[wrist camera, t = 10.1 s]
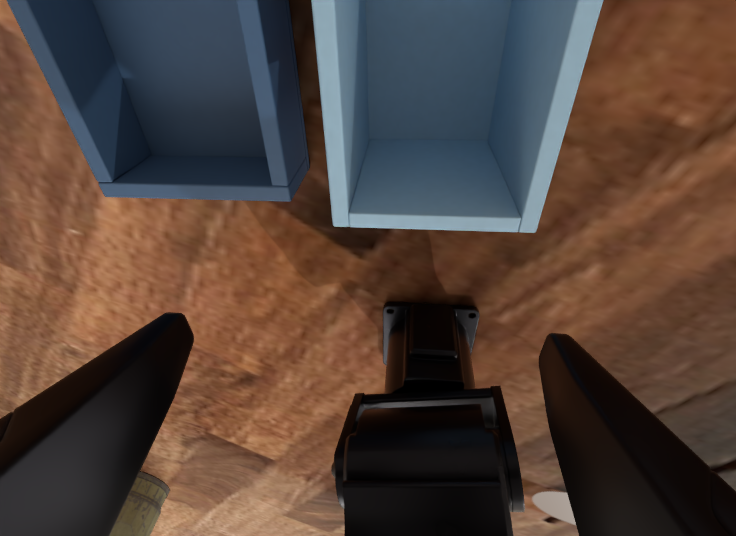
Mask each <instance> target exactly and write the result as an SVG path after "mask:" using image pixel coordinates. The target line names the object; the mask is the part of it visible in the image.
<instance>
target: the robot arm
mask: <svg viewBox="0 0 736 536" xmlns="http://www.w3.org/2000/svg"><path fill="white" fill-rule="evenodd" d="M389 309H393V310H389ZM470 313H473V314H470ZM478 320H479V310H478V308H477V307H474V306H461V305H441V304H421V303H400V302H388V303H386V304H385V305H384V308H383V362H384V364H385V365H387V367H386V380H385V394H366V395H365V394H364V393H357V394H355V396H354V399H353V402H352V405H351V406H350V409H349V412H348V415H347V418H346V421H345V424H344V427H343V430H342V433H341V436H340V439H339V442H338V445H337V448H336V451H335V454H334V462H333V464H332V475H333V476H334V477H335V481H336V491H337V496H338V500H339V503H340V505H341V507H342V508H343V509H344V515H345V536H513V530H512V523H511V516H510V512H524V510H525V506H524V495H523V487H522V480H521V473H520V468H519V462H518V457H517V452H516V447H515V442H514V438H513V434H512V430H511V426H510V422H509V419H508V415H507V411H506V407H505V403H504V399H503V395H502V391H501V388H500V386H490V388H480V389H475V382H474V375H473V368H472V361H471V352H472V348H473V343H474V339H475V334H476V329H477V325H478ZM193 342H194V336H193V332H192V330H191V328H190V326H189V324H188V321H187V319H186V317H185V315H183V314H182V313H171V312H168V313H165V314H163V315H161V316H160V317H158V318H157V319H155V320H153V321H152V322H150V323H149V324H147V325H146V326H144V327H143V328H141V329H139V330H138V331H136V332H135V333H133V334H132V335H130V336H129V337H127V338H125V339H124V340H122V341H121V342H119V343H118V344H116V345H115V346H113V347H111V348H110V349H108V350H107V351H105V352H104V353H102V354H101V355H99V356H97V357H96V358H94V359H93V360H91V361H90V362H88V363H87V364H85V365H83V366H82V367H80V368H79V369H77V370H76V371H74V372H72V373H71V374H69V375H68V376H66V377H65V378H63V379H62V380H60V381H58V382H57V383H55V384H54V385H52V386H51V387H49V388H48V389H46V390H44V391H43V392H41V393H40V394H38V395H37V396H35V397H34V398H32V399H30V400H29V401H27V402H26V403H24V404H23V405H21V406H20V407H18V408H16V409H15V410H14V412H10V413H8V414H7V415H5V416H4V417H2V418H1V419H0V536H110V534H111V532H112V529H113V527H114V525H115V523H116V521H117V519H118V517H119V515H120V512H121V510H122V508H123V506H124V504H125V502H126V500H127V497H128V495H129V493H130V491H131V489H132V487H133V485H134V483H135V480H136V478H137V476H138V474H139V472H140V470H141V468H142V466H143V463H144V461H145V459H146V457H147V455H148V453H149V451H150V449H151V446H152V444H153V442H154V440H155V438H156V436H157V434H158V431H159V429H160V427H161V425H162V423H163V421H164V419H165V417H166V414H167V412H168V410H169V408H170V406H171V404H172V401H173V399H174V397H175V394H176V392H177V389H178V386H179V383H180V380H181V377H182V375H183V372H184V369H185V366H186V363H187V360H188V357H189V354H190V351H191V349H192V346H193ZM539 369H540V375H541V381H542V387H543V394H544V400H545V406H546V413H547V418H548V424H549V428H550V432H551V436H552V440H553V444H554V447H555V451H556V454H557V458H558V461H559V465H560V468H561V472H562V476H563V479H564V483H565V486H566V490H567V493H568V497H569V500H570V504H571V507H572V511H573V514H574V518H575V522H576V525H577V529H578V533H579V536H736V491H735V490H734V489H733V488H732V487H730V486H729V485H728V484H727V483H726V482H725V481H724V480H723V479H722V478H721V477H720V476H719V475H718V474H717V473H715V472H714V471H711V469H710V467H709V466H708V465H707V464H706V463H705V462H704V461H703V460H702V459H700V458H699V457H698V456H697V455H696V454H695V453H694V452H693V451H692V450H691V449H690V448H689V447H688V446H687V445H686V444H684V443H683V442H682V441H681V440H680V439H679V438H678V437H677V436H676V435H675V434H674V433H673V432H672V431H671V430H670V429H669V428H667V427H666V426H665V425H664V424H663V423H662V422H661V421H660V420H659V419H658V418H657V417H656V416H655V415H654V414H653V413H651V412H650V411H649V410H648V409H647V408H646V407H645V406H644V405H643V404H642V403H641V402H640V401H639V400H638V399H637V398H635V397H634V396H633V395H632V394H631V393H630V392H629V391H628V390H627V389H626V388H625V387H624V386H623V385H622V384H621V383H620V382H618V381H617V380H616V379H615V378H614V377H613V376H612V375H611V374H610V373H609V372H608V371H607V370H606V369H605V368H604V367H602V366H601V365H600V364H599V363H598V362H597V361H596V360H595V359H594V358H593V357H592V356H591V355H590V354H589V353H588V352H587V351H585V350H584V349H583V348H582V347H581V346H580V345H579V344H578V343H577V342H576V341H575V340H574V339H573V338H572V337H570V336H569V335H567V334H557V333H551V334H549V335H548V336H547V337H546V340H545V342H544V345H543V348H542V350H541V353H540V356H539Z"/></svg>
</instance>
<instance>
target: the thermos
mask: <svg viewBox="0 0 736 536" xmlns="http://www.w3.org/2000/svg"><path fill="white" fill-rule="evenodd" d="M169 491H170V490H169V488H168V486H167V485H166V484H165V483H164V482H162V481H161V480H159V479H157V478H155V477H153V476H151V475H148V474H146V473H143V472H139V474H138V476H137V478H136V480H135V483H134V485H133V487H132V489H131V491H130V493H129V495H128V497H127V500H126V502H125V504H124V506H123V508H122V510H121V512H120V515H119V517H118V519H117V521H116V523H115V525H114V527H113V529H112V532H111V534H110V536H150V534H151V532H152V530H153V528H154V526H155V524H156V522H157V519H158V517H159V515H160V513H161V511H160V510H161V507H162V505H163V503H164V501H165V499H166V498H167V496H168V493H169Z"/></svg>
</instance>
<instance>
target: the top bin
mask: <svg viewBox="0 0 736 536" xmlns="http://www.w3.org/2000/svg"><path fill="white" fill-rule="evenodd" d="M311 2H312V12H313V22H314V33H315V43H316V54H317V64H318V75H319V85H320V96H321V106H322V116H323V127H324V137H325V148H326V158H327V169H328V179H329V190H330V200H331V210H332V221H333V226H335V227H349V225H350V227H362V228H395V229H427V230H460V231H492V232H517V231H518V232H525V233H535V232H536V230H537V227H538V223H539V220H540V216H541V213H542V209H543V206H544V202H545V199H546V196H547V192H548V189H549V185H550V182H551V178H552V175H553V171H554V168H555V165H556V161H557V158H558V154H559V151H560V147H561V144H562V141H563V137H564V134H565V130H566V127H567V123H568V120H569V116H570V113H571V110H572V106H573V103H574V99H575V96H576V92H577V89H578V85H579V82H580V79H581V75H582V72H583V68H584V65H585V61H586V58H587V55H588V51H589V48H590V44H591V41H592V37H593V34H594V30H595V27H596V24H597V20H598V17H599V13H600V10H601V6H602V3H603V0H311Z"/></svg>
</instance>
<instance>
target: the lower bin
mask: <svg viewBox="0 0 736 536" xmlns="http://www.w3.org/2000/svg"><path fill="white" fill-rule="evenodd" d="M7 2H8V4H9V6H10V8H11V10H12V12H13V14H14V16H15V18H16V20H17V22H18V24H19V26H20V28H21V30H22V32H23V34H24V36H25V38H26V40H27V42H28V44H29V46H30V48H31V50H32V52H33V54H34V56H35V58H36V60H37V62H38V64H39V66H40V68H41V70H42V72H43V74H44V76H45V78H46V80H47V82H48V84H49V86H50V88H51V90H52V92H53V94H54V96H55V98H56V100H57V102H58V104H59V106H60V108H61V110H62V112H63V114H64V116H65V118H66V120H67V122H68V124H69V126H70V128H71V130H72V132H73V134H74V136H75V138H76V140H77V142H78V144H79V146H80V148H81V150H82V152H83V154H84V156H85V158H86V160H87V162H88V164H89V166H90V168H91V170H92V172H93V174H94V176H95V178H96V180H97V181H98V182H99V186H100V188H101V190H102V192H103V194H104V196H105V197H128V198H169V199H209V200H249V201H291V200H292V198H293V197H294V195H295V193H296V191H297V189H298V188H299V186H300V184H301V182H302V180H303V178H304V177H305V175H306V173H307V171H308V170H309V168H310V165H309V157H308V149H307V141H306V133H305V125H304V117H303V109H302V101H301V94H300V86H299V78H298V70H297V62H296V54H295V46H294V38H293V30H292V22H291V14H290V6H289V0H7Z"/></svg>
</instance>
